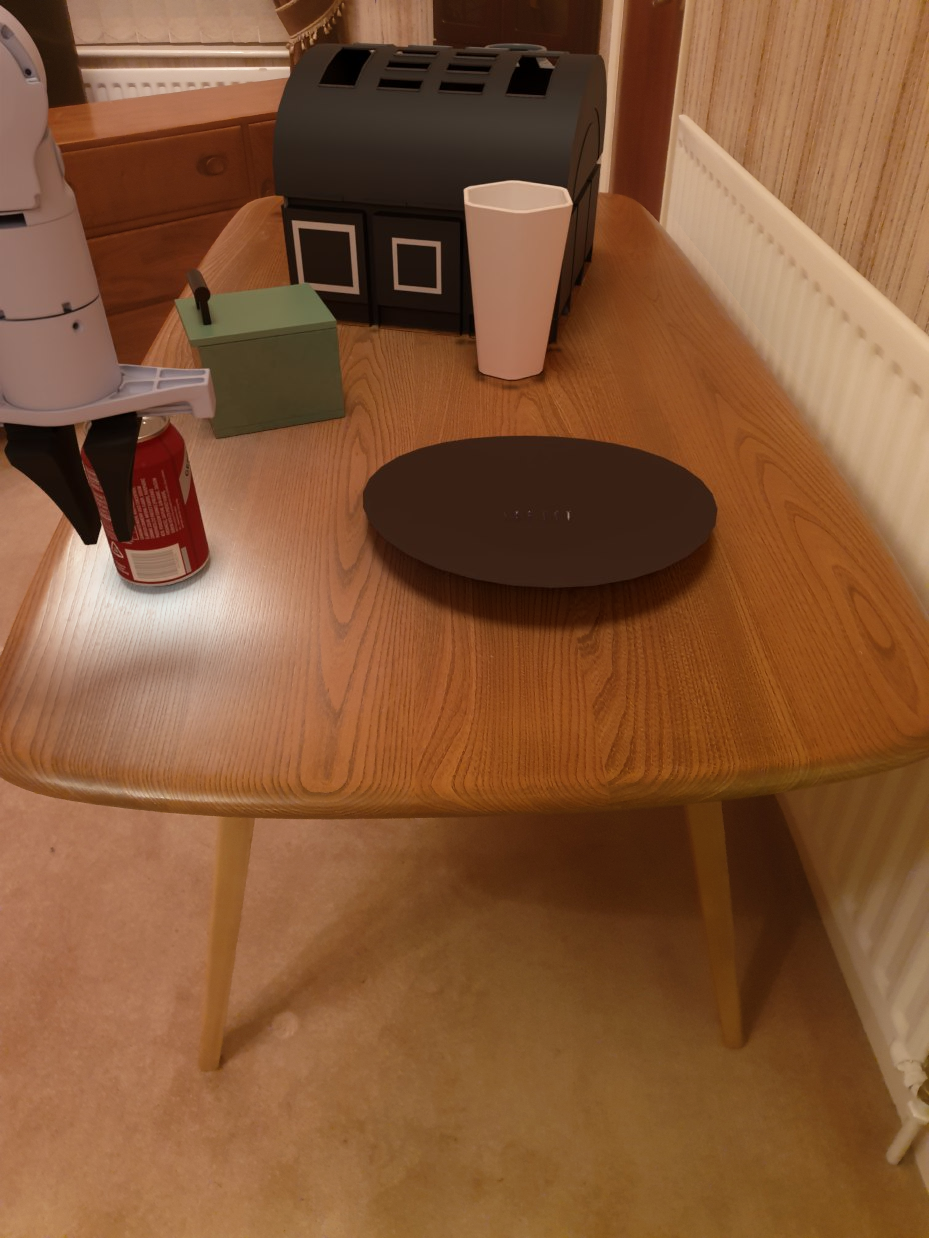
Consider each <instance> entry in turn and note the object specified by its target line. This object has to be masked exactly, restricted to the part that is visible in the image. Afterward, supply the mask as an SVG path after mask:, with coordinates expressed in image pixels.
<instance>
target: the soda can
mask: <svg viewBox="0 0 929 1238" xmlns="http://www.w3.org/2000/svg"><path fill="white" fill-rule="evenodd" d="M90 427H91V421H86V422H83V425H82V429H83V434H84V436H85V438H84V440H83V443H82V444H81V448H80V454H81V458H82V462H83V466H84V470H85V473H86V476H87V479H88V482H89V484H90V487H91V490H92V493H93V495H94V498H95V501H96V504H97V506H98V510H99V514H100V518H101V523H102V528H103V531H104V535H105V538H106V540H107V544H108V548H109V551H110V553H111V555H112V556H111V557H112V559H113V563H114V566H115V570H116V572H117V574H118V575H119V577H121V579H123V580H124V581H126V582H128V583H130V584H132V585H136V586H139V587H150V588H151V587H152V588H153V587H154V588H155V587H164V586H165V587H166V586H171V585H174V584H177V583H180V582H183V581H185V580H188V579H189V578H191V577H193V576H194V575H196V574H198V573H199V572H200V571H201V570H202V569H203V568H204V567H205V566H206V564H207V562H208V561H209V559H210V547H209V542H208V539H207V533H206V530H205V525H204V520H203V516H202V512H201V508H200V503H199V498H198V494H197V490H196V485H195V480H194V475H193V472H192V467H191V463H190V458H189V453H188V450H187V444H186V441H185V437H184V435H183V433H182V432H181V430H180V429H178V428H177V427H176V426H175V424H173V423H172V422H171V418H170V415H162V416H147V417H143V419H142V423H141V427H140V432H139V437H138V442H137V448H136V454H135V462H134V471H133V511H134V519H135V527H134V531H133V536H132V540H131V541H129V542H118V540H117V538H116V535H115V533H114V530H113V526H112V522H111V518H110V514H109V510H108V506H107V502H106V498H105V495H104V493H103V490H102V488H101V485H100V483H99V481H98V478H97V476H96V474H95V472H94V470H93V468H92V466H91V464H90V462H89V460H88V458H87V456H86V455H85V452H84V449H83V445H84V442H85V439H86V436H87V433H88V430H89V429H90Z"/></svg>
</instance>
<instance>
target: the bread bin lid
mask: <svg viewBox="0 0 929 1238" xmlns="http://www.w3.org/2000/svg"><path fill="white" fill-rule="evenodd" d="M185 278H186V282H187V283H188V285H189V287H190V290H191V292H192V295H193V296H191V297H183V298H175V299H174V305H175V308H176V311H177V314H178V316H179V319H180V322H181V325H182V327H183V330H184V332H185V335H186V338H187V341H188V343H189V346H191V347H199V346H206V345H213V344H220V343H227V342H235V341H242V340H249V339H256V338H264V337H271V336H278V335H285V334H292V333H300V332H307V331H314V330H321V329H328V328H338V324H337V322H336V319H335V318H334V316H333V315H332V314H331V312H330V311H329V310H328V308H327V307H326V306H325V304H324V303H323V301H322V300H321V299H320V297H319V296H318V295H317V293H316V292H315V291H314V289H313V288H312V287H311V285H310V284H309V283H305V284H297V285H290V284H289V285H282V286H273V287H266V288H258V289H249V290H241V291H233V292H224V293H217V294H211V291H210V289H209V287H208V285H207V283H206V281H205V278H204V276H203V274H202V273H201V271H200V270H199V269H197V268H191V269H189V270H188V271H187V272H186V277H185ZM191 347H190V348H191Z"/></svg>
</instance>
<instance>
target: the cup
mask: <svg viewBox="0 0 929 1238" xmlns="http://www.w3.org/2000/svg"><path fill="white" fill-rule="evenodd" d="M464 204H465V215H466V227H467V238H468V250H469V262H470V273H471V285H472V296H473V308H474V320H475V331H476V338H475V341H476V342H475V343H476V352H477V353H476V355H477V366H478V371H479V372H480V373H481V374H484V375H486V376H491V377H495V378H500V379H503V380H506V381H507V380H509V381H510V380H511V381H514V380H521V379H525V378H527V377H532V376H536V375H539V374H540V373H541V372H543V369H544V364H545V358H546V354H547V353H546V352H547V347H548V344H547V342H548V337H549V331H550V326H551V320H552V315H553V310H554V304H555V299H556V293H557V288H558V282H559V277H560V272H561V266H562V261H563V255H564V250H565V244H566V239H567V234H568V228H569V223H570V217H571V212H572V206H573V203H572V200H571V198H570V195H569V193H568V190H567V189H565V188H563V187H558V186H551V185H545V184H538V183H531V182H524V181H503V182H497V183H490V184H483V185H476V186H469V187H467V188H465V189H464Z"/></svg>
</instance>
